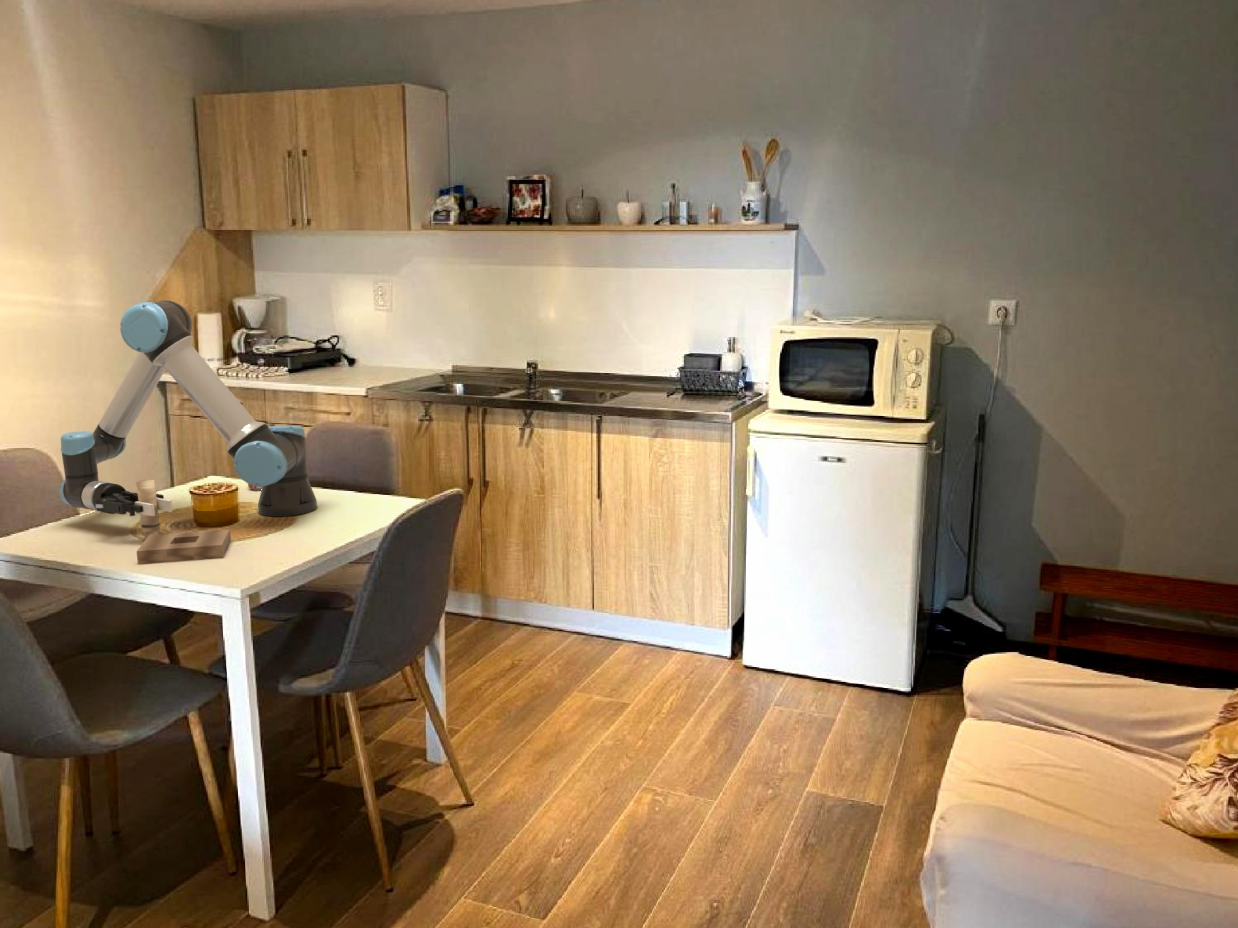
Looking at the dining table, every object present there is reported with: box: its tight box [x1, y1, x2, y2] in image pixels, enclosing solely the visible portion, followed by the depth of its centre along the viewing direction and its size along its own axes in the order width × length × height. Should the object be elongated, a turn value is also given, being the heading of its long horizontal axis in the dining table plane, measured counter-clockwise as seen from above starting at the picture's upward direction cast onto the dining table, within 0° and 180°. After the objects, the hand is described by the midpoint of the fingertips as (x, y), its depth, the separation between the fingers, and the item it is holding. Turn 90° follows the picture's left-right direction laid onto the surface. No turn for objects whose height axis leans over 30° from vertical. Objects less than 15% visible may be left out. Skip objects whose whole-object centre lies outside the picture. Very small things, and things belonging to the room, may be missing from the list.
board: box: [136, 529, 232, 565], centre depth 240 cm, size 18×14×3 cm
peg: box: [136, 479, 161, 540], centre depth 250 cm, size 4×4×14 cm
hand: (161, 508), depth 247 cm, fingers closed on peg, 4 cm apart
